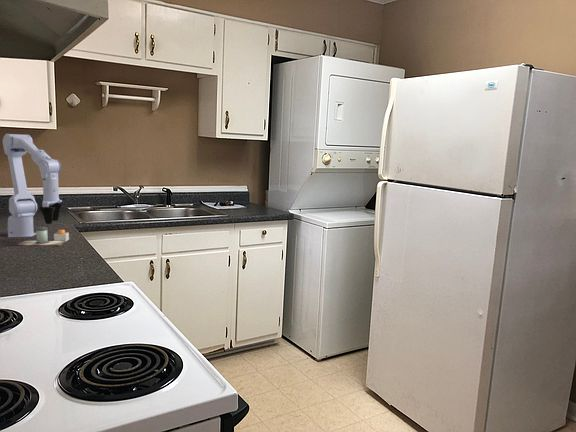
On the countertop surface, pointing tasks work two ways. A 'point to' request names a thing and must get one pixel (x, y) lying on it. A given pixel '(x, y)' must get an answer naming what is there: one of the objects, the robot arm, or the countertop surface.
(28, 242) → the sketch pad
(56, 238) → the button box
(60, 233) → the button
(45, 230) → the ink stamp
